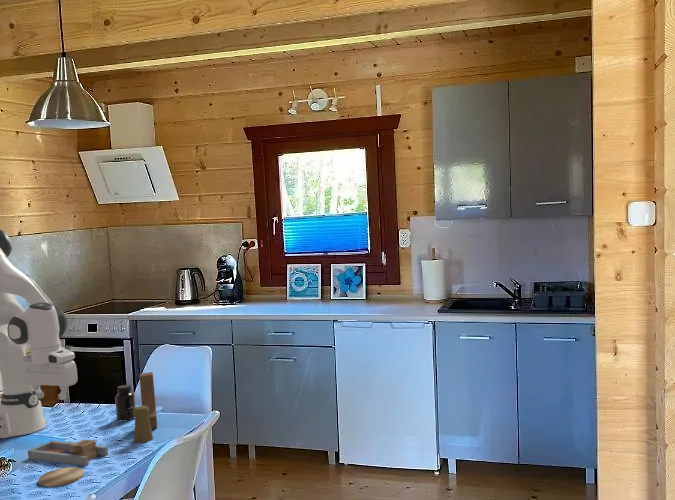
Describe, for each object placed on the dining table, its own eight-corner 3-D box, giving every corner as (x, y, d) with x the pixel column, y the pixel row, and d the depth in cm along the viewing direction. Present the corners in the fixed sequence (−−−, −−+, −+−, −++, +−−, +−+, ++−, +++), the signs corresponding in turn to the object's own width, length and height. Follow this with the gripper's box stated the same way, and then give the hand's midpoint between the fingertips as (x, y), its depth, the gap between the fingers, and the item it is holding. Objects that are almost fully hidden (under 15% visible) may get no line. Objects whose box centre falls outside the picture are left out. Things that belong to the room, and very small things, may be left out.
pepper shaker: (142, 443, 220) (139, 410, 219) (130, 441, 223) (127, 408, 222) (157, 437, 225) (154, 404, 224) (144, 435, 228) (141, 403, 228)
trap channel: (28, 458, 213) (27, 450, 213) (52, 448, 222) (51, 440, 221) (85, 465, 203) (84, 457, 203) (108, 454, 212) (107, 446, 212)
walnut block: (72, 461, 208) (70, 445, 208) (84, 455, 213) (82, 439, 213) (84, 462, 206) (83, 446, 206) (96, 456, 211) (95, 440, 211)
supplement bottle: (133, 421, 245) (130, 388, 244) (114, 422, 245) (111, 389, 244) (138, 415, 252) (135, 383, 251) (120, 416, 252) (117, 384, 251)
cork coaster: (29, 484, 192) (28, 481, 192) (62, 468, 203) (61, 465, 203) (60, 488, 187) (60, 486, 187) (92, 472, 198) (92, 469, 198)
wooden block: (157, 428, 234) (152, 377, 233) (143, 430, 233) (139, 379, 232) (157, 421, 243) (152, 371, 242) (144, 423, 242) (139, 373, 240)
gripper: (14, 356, 214) (19, 399, 214) (62, 358, 205) (67, 403, 206) (30, 352, 219) (35, 394, 220) (78, 353, 211) (83, 397, 212)
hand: (51, 398), depth 213 cm, fingers open, 8 cm apart
